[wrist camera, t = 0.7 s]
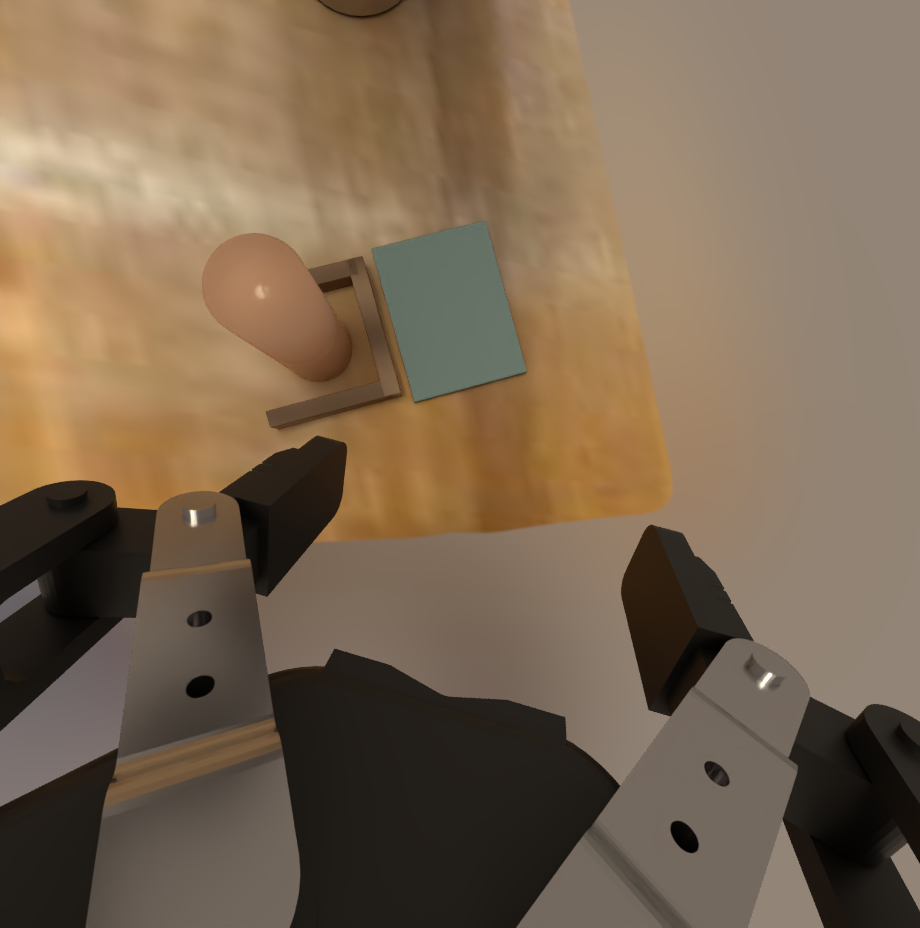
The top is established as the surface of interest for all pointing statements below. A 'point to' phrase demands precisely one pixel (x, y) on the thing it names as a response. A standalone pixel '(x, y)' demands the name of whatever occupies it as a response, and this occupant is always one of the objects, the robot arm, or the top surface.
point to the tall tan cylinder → (275, 306)
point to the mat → (449, 311)
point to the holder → (388, 384)
